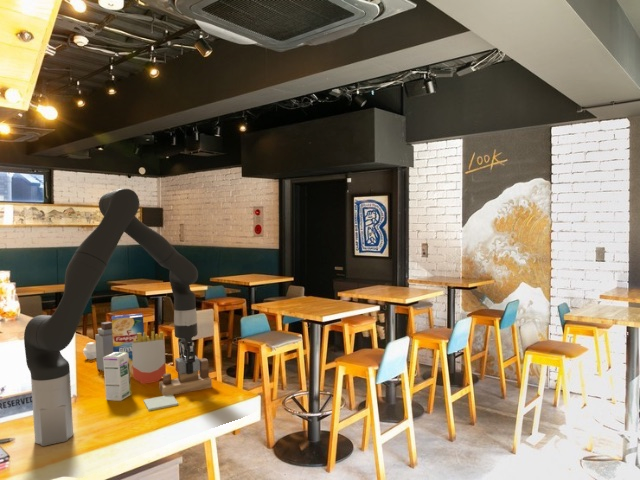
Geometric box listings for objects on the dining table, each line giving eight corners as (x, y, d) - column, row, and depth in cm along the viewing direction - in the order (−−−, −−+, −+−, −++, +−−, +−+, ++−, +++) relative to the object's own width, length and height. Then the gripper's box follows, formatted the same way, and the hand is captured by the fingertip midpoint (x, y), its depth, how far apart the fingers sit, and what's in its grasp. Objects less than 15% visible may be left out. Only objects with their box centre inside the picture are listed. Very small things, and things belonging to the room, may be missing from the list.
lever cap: (199, 370, 173) (199, 358, 173) (178, 373, 169) (178, 362, 169) (195, 366, 177) (195, 355, 177) (175, 370, 174) (175, 358, 174)
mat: (178, 404, 159) (178, 403, 159) (148, 411, 155) (148, 409, 154) (172, 396, 167) (172, 394, 167) (143, 401, 162) (143, 399, 162)
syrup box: (121, 401, 163) (119, 356, 163) (105, 400, 165) (102, 356, 164) (131, 394, 169) (129, 351, 168) (115, 394, 170) (113, 351, 169)
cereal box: (146, 374, 190) (143, 316, 189) (114, 379, 186) (111, 319, 185) (145, 369, 196) (142, 313, 195) (114, 373, 192) (111, 316, 191)
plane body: (211, 387, 174) (210, 361, 173) (163, 396, 166) (162, 369, 166) (206, 381, 180) (204, 356, 180) (159, 390, 173) (158, 364, 172)
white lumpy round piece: (97, 355, 218) (96, 339, 218) (101, 358, 214) (100, 342, 213) (81, 358, 215) (80, 342, 214) (85, 361, 210) (84, 344, 209)
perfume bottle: (96, 368, 200) (94, 323, 199) (113, 364, 205) (111, 320, 204) (104, 371, 195) (102, 325, 194) (121, 367, 200) (119, 322, 199)
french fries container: (133, 381, 183) (130, 331, 182) (164, 376, 187) (162, 328, 186) (134, 384, 179) (131, 334, 178) (166, 380, 183) (163, 330, 182)
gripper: (169, 319, 177) (171, 368, 178) (179, 327, 164) (181, 379, 165) (191, 317, 180) (193, 364, 181) (202, 324, 168) (204, 375, 169)
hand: (187, 371), depth 173 cm, fingers closed on lever cap, 5 cm apart
